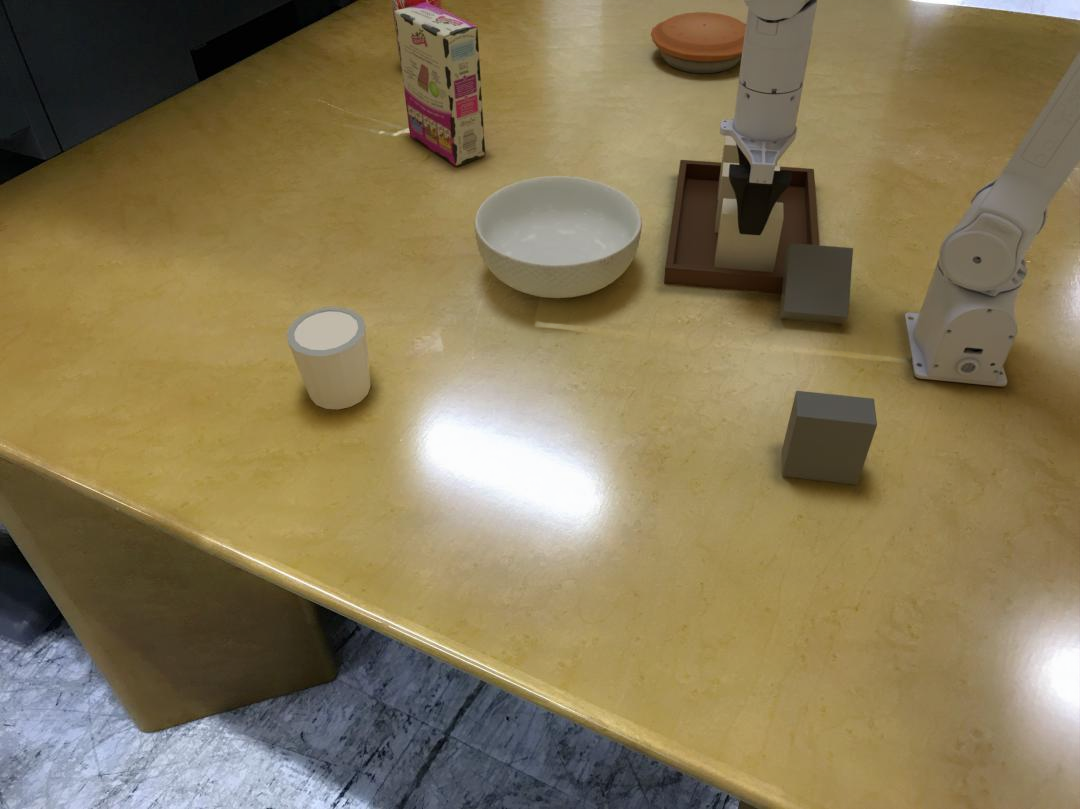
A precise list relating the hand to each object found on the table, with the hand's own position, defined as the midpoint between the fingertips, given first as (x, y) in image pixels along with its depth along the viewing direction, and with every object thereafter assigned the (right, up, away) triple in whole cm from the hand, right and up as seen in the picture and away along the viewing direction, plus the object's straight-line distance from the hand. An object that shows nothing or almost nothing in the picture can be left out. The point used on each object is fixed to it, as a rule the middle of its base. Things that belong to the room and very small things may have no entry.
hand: (750, 212), depth 90 cm
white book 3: (0, -5, +5) cm, 7 cm away
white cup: (-40, -18, -7) cm, 44 cm away
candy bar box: (-33, +14, +27) cm, 45 cm away
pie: (+3, +33, +45) cm, 56 cm away
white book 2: (+1, 0, +10) cm, 10 cm away
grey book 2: (+2, -25, -16) cm, 29 cm away
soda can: (-39, +32, +45) cm, 67 cm away
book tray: (+1, 0, +10) cm, 10 cm away
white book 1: (+3, +5, +15) cm, 16 cm away
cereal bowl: (-19, -6, +5) cm, 21 cm away
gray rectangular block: (+5, -11, -3) cm, 13 cm away
